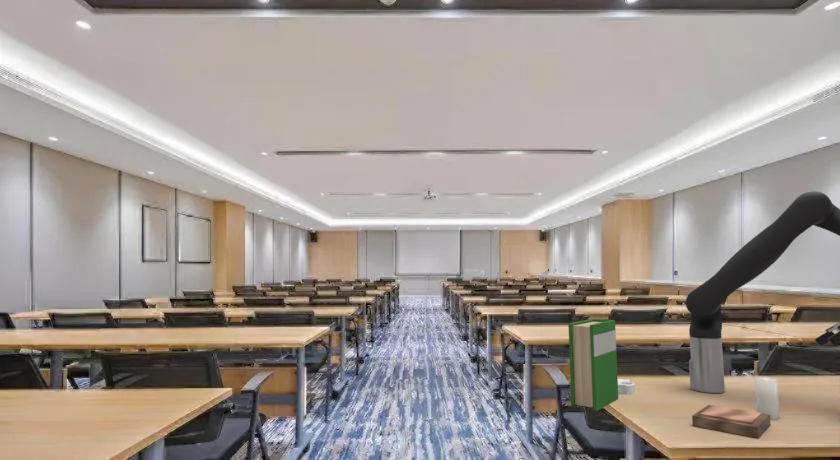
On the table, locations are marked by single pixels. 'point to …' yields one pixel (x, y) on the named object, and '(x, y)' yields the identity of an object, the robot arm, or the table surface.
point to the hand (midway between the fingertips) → (824, 342)
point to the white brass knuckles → (626, 387)
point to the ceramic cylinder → (767, 396)
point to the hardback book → (593, 363)
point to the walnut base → (732, 420)
